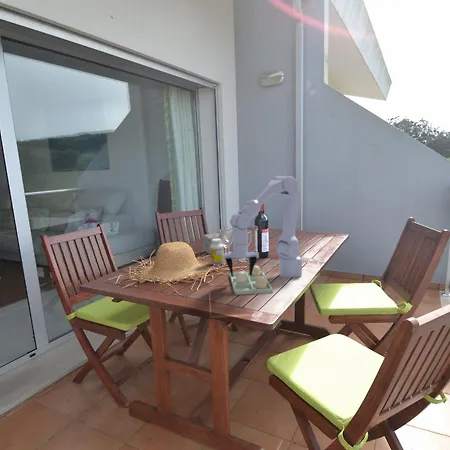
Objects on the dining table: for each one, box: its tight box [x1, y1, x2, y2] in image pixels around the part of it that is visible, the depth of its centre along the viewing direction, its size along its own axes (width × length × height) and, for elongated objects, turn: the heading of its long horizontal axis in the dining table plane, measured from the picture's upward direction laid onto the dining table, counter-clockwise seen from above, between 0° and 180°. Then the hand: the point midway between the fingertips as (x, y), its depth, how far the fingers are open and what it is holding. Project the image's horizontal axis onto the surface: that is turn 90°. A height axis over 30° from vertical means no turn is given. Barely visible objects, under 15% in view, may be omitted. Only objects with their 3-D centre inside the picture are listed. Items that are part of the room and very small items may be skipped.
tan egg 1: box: [250, 264, 262, 277], centre depth 142 cm, size 4×4×5 cm
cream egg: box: [236, 270, 247, 284], centre depth 134 cm, size 4×4×5 cm
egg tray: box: [229, 270, 274, 296], centre depth 135 cm, size 15×22×2 cm
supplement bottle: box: [209, 238, 225, 266], centre depth 165 cm, size 7×7×13 cm
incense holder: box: [202, 232, 220, 255], centre depth 189 cm, size 10×8×10 cm
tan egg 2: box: [255, 276, 268, 289], centre depth 128 cm, size 4×4×5 cm
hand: (241, 275), depth 134 cm, fingers open, 7 cm apart
